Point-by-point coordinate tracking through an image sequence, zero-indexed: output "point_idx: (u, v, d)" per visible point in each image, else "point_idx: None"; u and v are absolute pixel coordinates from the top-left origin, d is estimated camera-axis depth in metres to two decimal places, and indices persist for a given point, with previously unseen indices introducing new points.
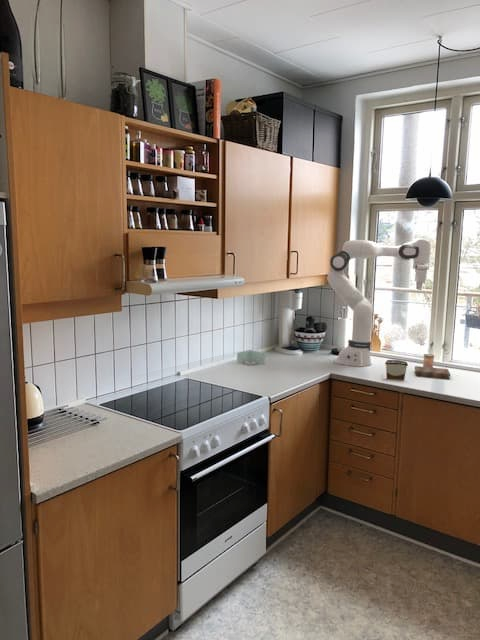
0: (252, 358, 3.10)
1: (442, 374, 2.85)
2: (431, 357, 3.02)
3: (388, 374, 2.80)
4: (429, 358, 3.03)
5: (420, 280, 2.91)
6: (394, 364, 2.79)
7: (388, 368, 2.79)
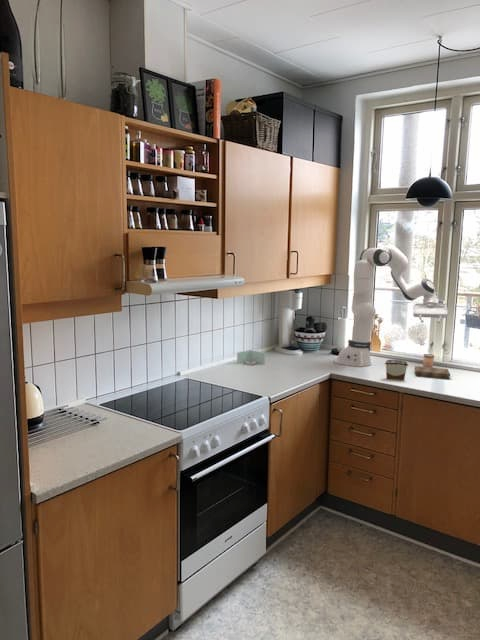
0: (252, 358, 3.11)
1: (442, 374, 2.85)
2: (431, 357, 3.02)
3: (388, 374, 2.80)
4: (429, 358, 3.03)
5: (447, 314, 3.13)
6: (394, 364, 2.79)
7: (388, 368, 2.79)
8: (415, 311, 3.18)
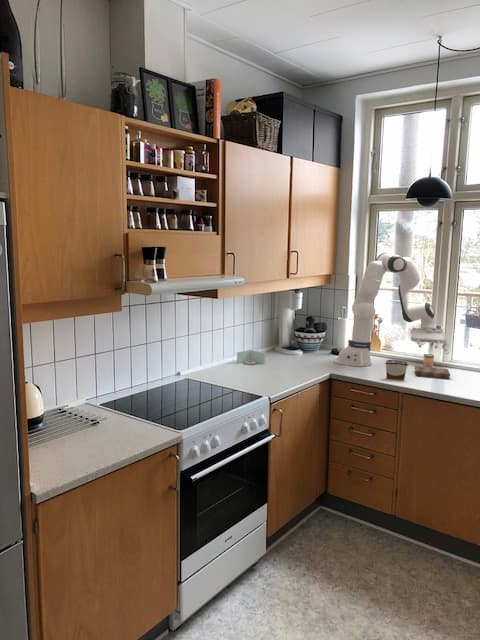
0: (252, 358, 3.11)
1: (442, 374, 2.85)
2: (431, 357, 3.02)
3: (388, 374, 2.80)
4: (429, 358, 3.03)
5: (445, 340, 3.13)
6: (394, 364, 2.79)
7: (388, 368, 2.79)
8: (413, 335, 3.18)
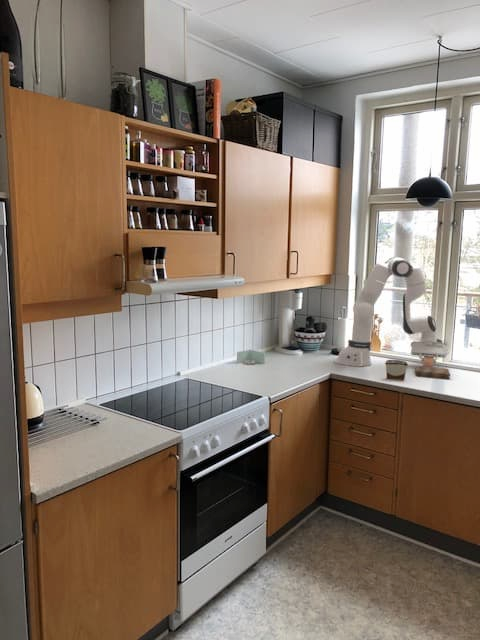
0: (252, 357, 3.12)
1: (442, 374, 2.85)
2: (431, 357, 3.02)
3: (388, 374, 2.80)
4: (429, 358, 3.03)
5: None
6: (394, 364, 2.79)
7: (388, 368, 2.79)
8: (413, 349, 3.10)
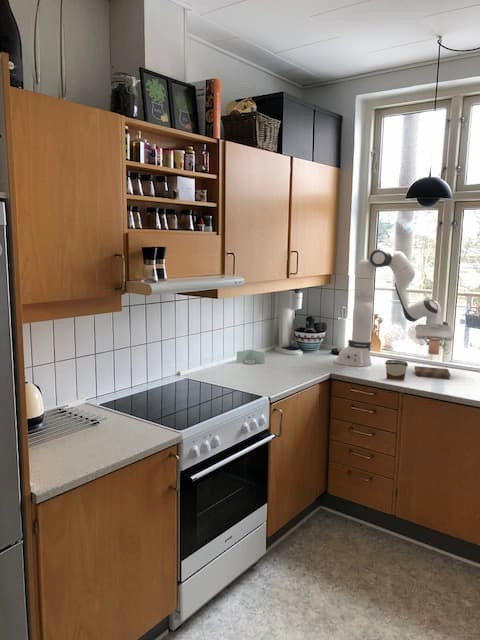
0: (252, 357, 3.12)
1: (442, 374, 2.85)
2: (437, 340, 2.88)
3: (388, 374, 2.80)
4: (435, 341, 2.88)
5: (452, 337, 2.92)
6: (394, 364, 2.79)
7: (388, 368, 2.79)
8: (418, 332, 2.96)
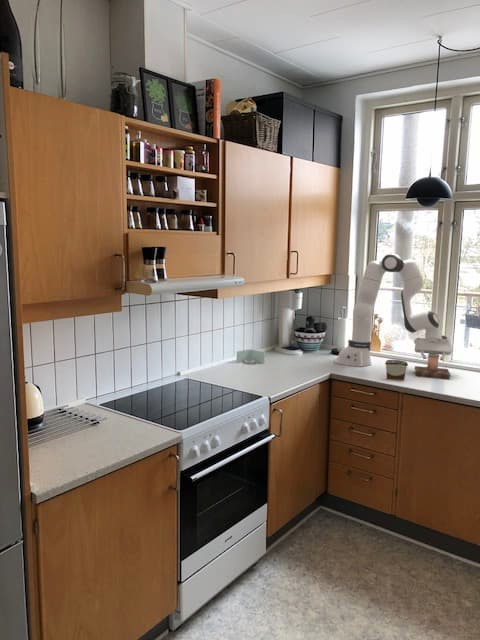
0: (252, 357, 3.13)
1: (442, 374, 2.85)
2: (436, 357, 2.89)
3: (388, 374, 2.80)
4: (434, 358, 2.89)
5: (451, 351, 2.92)
6: (394, 364, 2.79)
7: (388, 368, 2.79)
8: (417, 346, 2.97)
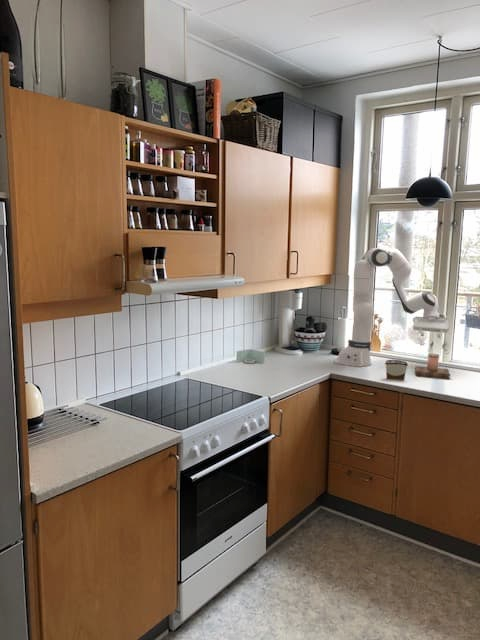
0: (252, 357, 3.14)
1: (442, 374, 2.85)
2: (436, 357, 2.89)
3: (388, 374, 2.80)
4: (434, 358, 2.89)
5: (448, 329, 3.04)
6: (394, 364, 2.79)
7: (388, 368, 2.79)
8: (415, 324, 3.08)
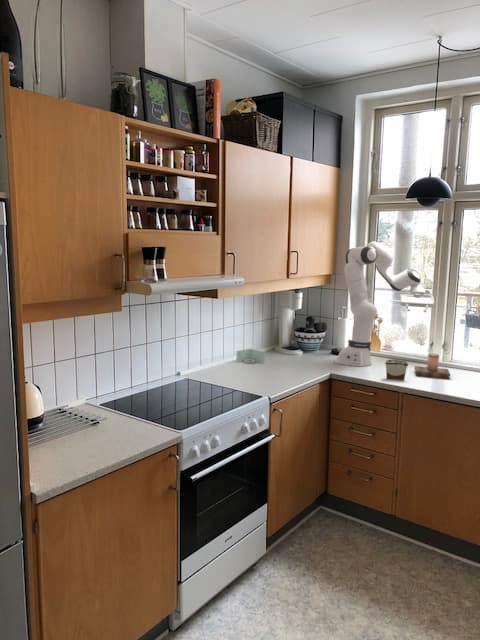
0: (252, 357, 3.14)
1: (442, 374, 2.85)
2: (436, 357, 2.89)
3: (388, 374, 2.80)
4: (434, 358, 2.89)
5: None
6: (394, 364, 2.79)
7: (388, 368, 2.79)
8: (402, 300, 3.21)
